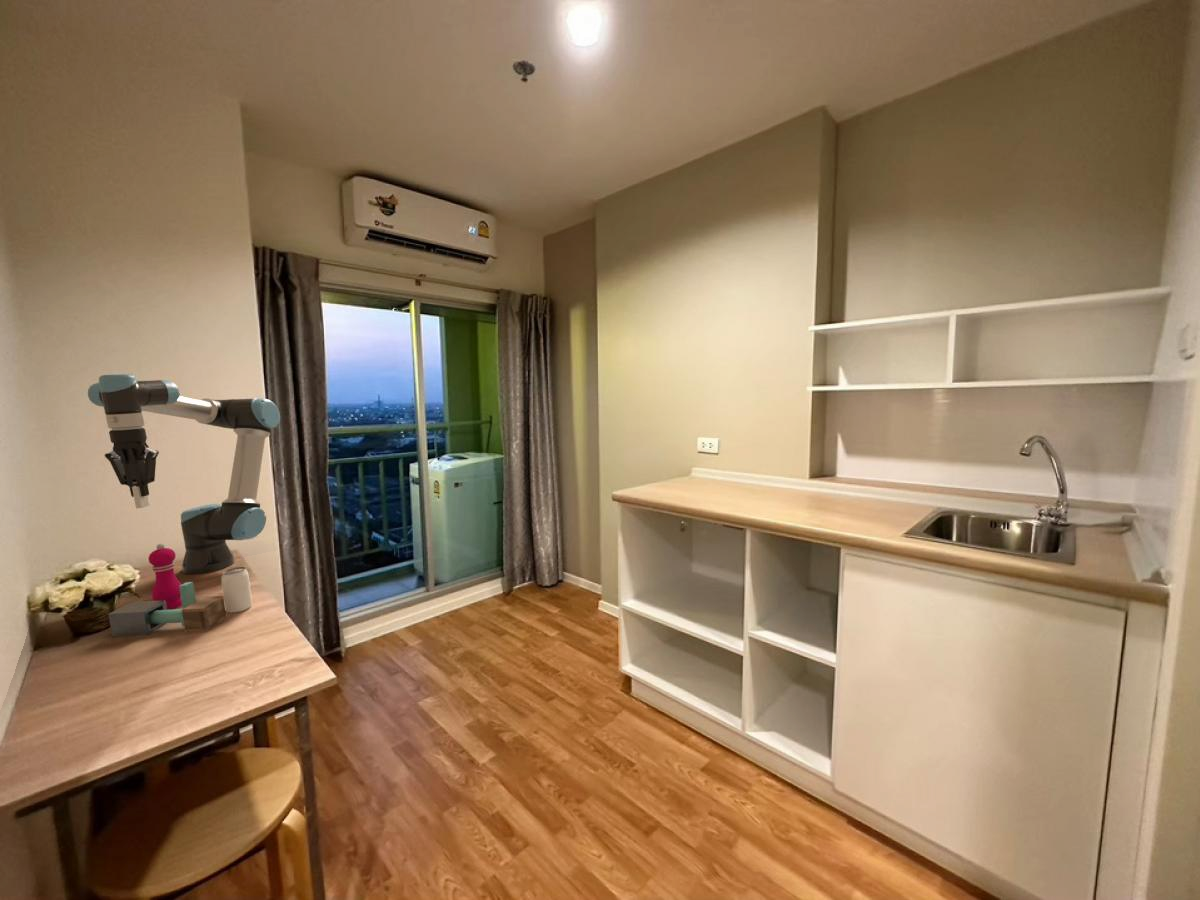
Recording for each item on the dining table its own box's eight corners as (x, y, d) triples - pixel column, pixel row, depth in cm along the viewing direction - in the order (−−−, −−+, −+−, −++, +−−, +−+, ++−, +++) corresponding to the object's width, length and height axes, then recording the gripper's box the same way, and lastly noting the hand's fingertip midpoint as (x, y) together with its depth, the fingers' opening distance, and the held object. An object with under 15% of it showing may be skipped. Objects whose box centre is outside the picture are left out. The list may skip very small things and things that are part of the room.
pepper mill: (171, 612, 142) (160, 547, 139) (147, 612, 142) (136, 548, 139) (192, 601, 149) (182, 539, 146) (169, 601, 149) (159, 540, 146)
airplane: (143, 628, 129) (136, 589, 128) (158, 620, 134) (151, 582, 132) (204, 625, 130) (198, 586, 129) (217, 616, 135) (211, 579, 133)
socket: (206, 619, 136) (203, 597, 135) (226, 618, 137) (223, 595, 136) (185, 633, 129) (181, 609, 128) (206, 631, 129) (203, 608, 128)
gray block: (136, 623, 135) (132, 602, 134) (169, 622, 135) (165, 600, 134) (112, 636, 128) (108, 613, 127) (147, 634, 128) (143, 611, 127)
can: (258, 603, 146) (252, 566, 144) (240, 613, 139) (234, 574, 137) (238, 603, 146) (233, 566, 144) (220, 613, 140) (214, 574, 138)
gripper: (89, 430, 133) (107, 511, 137) (140, 428, 134) (156, 509, 138) (113, 427, 140) (129, 504, 144) (161, 425, 141) (176, 502, 145)
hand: (142, 506), depth 141 cm, fingers closed
